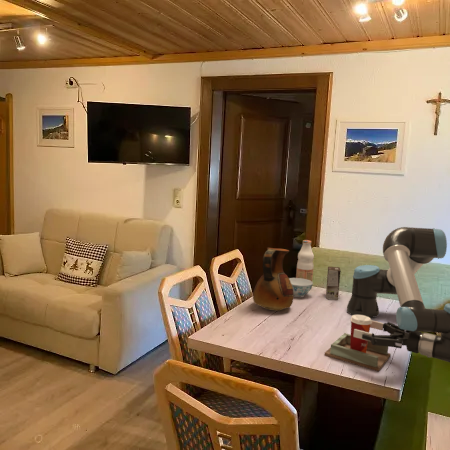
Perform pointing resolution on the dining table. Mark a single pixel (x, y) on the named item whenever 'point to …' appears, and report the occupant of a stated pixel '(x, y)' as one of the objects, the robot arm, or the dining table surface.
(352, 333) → the paper cup
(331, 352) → the bay
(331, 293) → the coffee box
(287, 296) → the ceramic pitcher
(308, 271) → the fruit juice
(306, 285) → the chinaware
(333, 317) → the dining table surface
